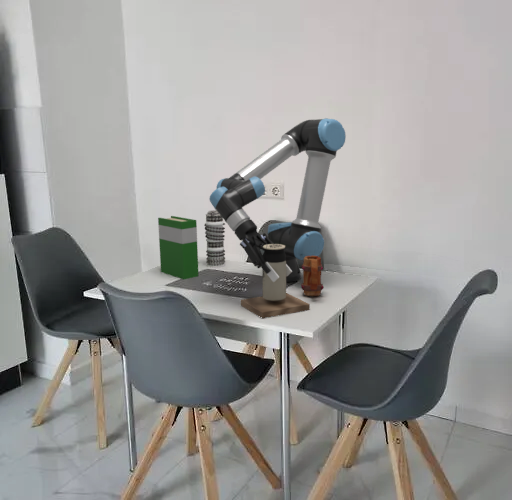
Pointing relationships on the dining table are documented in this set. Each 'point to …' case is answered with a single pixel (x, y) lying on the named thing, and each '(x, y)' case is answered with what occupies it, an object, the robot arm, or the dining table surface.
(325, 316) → the dining table surface
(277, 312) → the walnut board
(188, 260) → the hardback book
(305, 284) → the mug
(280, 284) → the travel mug
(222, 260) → the decorative candle
